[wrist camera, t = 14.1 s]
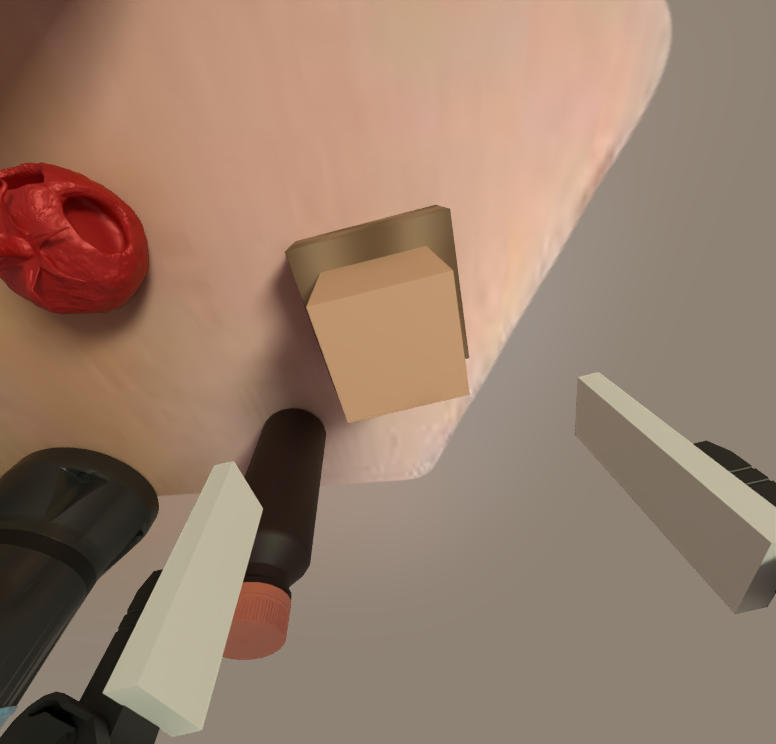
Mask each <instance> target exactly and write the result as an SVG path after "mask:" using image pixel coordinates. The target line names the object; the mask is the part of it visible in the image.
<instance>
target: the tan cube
mask: <svg viewBox="0 0 776 744" xmlns="http://www.w3.org/2000/svg"><path fill="white" fill-rule="evenodd" d="M306 308H307V311H308V313H309V316H310V319H311V322H312V325H313V327H314V330H315V333H316V336H317V338H318V341H319V344H320V347H321V349H322V352H323V355H324V358H325V361H326V363H327V366H328V369H329V372H330V374H331V377H332V380H333V383H334V385H335V388H336V391H337V394H338V397H339V399H340V402H341V405H342V408H343V410H344V413H345V416H346V419H347V422H348V423H351V422H355V421H359V420H364V419H368V418H372V417H376V416H381V415H385V414H389V413H393V412H398V411H402V410H406V409H411V408H415V407H419V406H423V405H428V404H432V403H436V402H440V401H445V400H449V399H453V398H457V397H462V396H466V395H470V394H469V387H468V379H467V371H466V364H465V356H464V349H463V341H462V334H461V326H460V319H459V311H458V303H457V296H456V288H455V281H454V273H453V270H452V269H451V268H450V267H449V266H448V265H447V264H446V263H444V262H443V261H442V260H441V259H440V258H439V257H438V256H437V255H436V254H435V253H433V252H432V251H431V250H430V249H429V248H428V247H427V246H424V247H420V248H416V249H412V250H408V251H404V252H401V253H397V254H393V255H389V256H385V257H381V258H377V259H373V260H369V261H365V262H361V263H357V264H353V265H349V266H345V267H341V268H337V269H334V270H330V271H326V272H322V273H320V275H319V277H318V280H317V282H316V284H315V287H314V289H313V292H312V294H311V297H310V299H309V302H308V304H307V306H306Z"/></svg>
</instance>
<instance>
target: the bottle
mask: <svg viewBox="0 0 776 744" xmlns="http://www.w3.org/2000/svg"><path fill="white" fill-rule="evenodd" d="M325 438H326V432H325V429H324V426H323V424H322V422H321V421H320V420H319V419H318V418H317V417H316V416H314V415H313V414H312V413H310V412H307V411H304V410H301V409H286V410H281V411H279V412H277V413H275V414H273V415H272V416H271V417H270V418H269V419H268V420H267V421H266V423H265V426H264V428H263V430H262V433H261V436H260V438H259V441H258V444H257V446H256V449H255V451H254V454H253V457H252V459H251V462H250V465H249V467H248V470H247V472H246V475H245V480H246V482H247V483H248V485H249V486H250V488H251V490H252V491H253V493H254V495H255V496H256V498H257V499H258V501H259V503H260V504H261V506H262V508H263V511H262V514H261V518H260V522H259V525H258V529H257V533H256V536H255V540H254V543H253V547H252V551H251V554H250V558H249V562H248V565H247V569H246V572H245V576H244V580H243V583H242V587H241V591H240V594H239V598H238V601H237V605H236V609H235V612H234V616H233V620H232V623H231V627H230V630H229V634H228V638H227V641H226V645H225V649H224V652H223V656H222V657H225V658H230V659H239V660H242V659H243V660H247V659H248V660H250V659H256V658H263V657H265V656H268V655H271V654H273V653H275V652H276V651H277V650H279V649H280V648H281V647H282V646H283V645H284V643H285V640H286V634H287V628H288V621H289V615H290V608H291V592H290V590H289V587H290V586H291V585H292V584H294V583H295V582H296V581H297V580H298V579H300V578H301V577H302V576H303V575H304V573H305V572H306V570H307V569H308V567H309V565H310V560H311V552H312V544H313V536H314V528H315V520H316V512H317V511H316V510H317V502H318V495H319V487H320V479H321V471H322V463H323V455H324V447H325Z"/></svg>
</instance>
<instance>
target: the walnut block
mask: <svg viewBox="0 0 776 744" xmlns="http://www.w3.org/2000/svg"><path fill="white" fill-rule="evenodd" d="M424 246H427V247H428V248H429V249H430V250H431V251H432V252H433V253H435V254H436V255H437V256H438V257H439V258H440V259H441V260H442V261H443V262H444V263H446V264H447V265H448V266H449V267H450V268H451V269H452V270H453V273H454V281H455V288H456V296H457V303H458V311H459V319H460V326H461V334H462V341H463V349H464V356H465V359H467V358H469V354H468V346H467V338H466V330H465V322H464V315H463V307H462V299H461V291H460V284H459V276H458V268H457V260H456V252H455V245H454V237H453V229H452V221H451V213H450V209H449V208H445V207H441V206H438V205H433V206H429V207H426V208H422V209H418V210H414V211H410V212H407V213H403V214H399V215H395V216H391V217H387V218H384V219H380V220H376V221H372V222H368V223H364V224H361V225H357V226H353V227H349V228H345V229H341V230H338V231H334V232H330V233H326V234H322V235H319V236H315V237H311V238H307V239H303V240H299V241H296V242H295V243H294V244H292V245H291V246H290V247H289V248H288V249H287V250H286V251H285V254H286V257H287V260H288V262H289V265H290V268H291V271H292V273H293V276H294V279H295V281H296V284H297V287H298V290H299V292H300V295H301V298H302V301H303V303H304V306H305V309H306V312H307V314H308V317H309V320H310V322H311V319H310V316H309V313H308V311H307V308H306V306H307V304H308V302H309V299H310V297H311V294H312V292H313V289H314V287H315V284H316V282H317V280H318V277H319V275H320V273H322V272H326V271H330V270H334V269H337V268H341V267H345V266H349V265H353V264H357V263H361V262H365V261H369V260H373V259H377V258H381V257H385V256H389V255H393V254H397V253H401V252H404V251H408V250H412V249H416V248H420V247H424ZM311 325H312V322H311ZM312 328H313V331H314V333H315V330H314V327H313V325H312ZM315 336H316V333H315ZM316 339H317V342H318V344H319V341H318V338H317V336H316ZM319 347H320V344H319ZM320 350H321V353H322V355H323V352H322V349H321V347H320ZM323 358H324V355H323ZM324 361H325V358H324ZM325 363H326V361H325ZM326 366H327V363H326ZM327 369H328V366H327ZM328 372H329V369H328ZM329 374H330V372H329ZM330 377H331V374H330ZM331 380H332V377H331ZM332 383H333V380H332ZM333 385H334V383H333ZM334 388H335V385H334ZM335 390H336V388H335Z"/></svg>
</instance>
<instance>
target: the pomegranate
mask: <svg viewBox="0 0 776 744" xmlns="http://www.w3.org/2000/svg"><path fill="white" fill-rule="evenodd" d="M148 267H149V254H148V245H147V239H146V236H145V233H144V229H143V226H142V224H141V221H140V220H139V218H138V217H137V215H136V214H135V212H134V211H133V210H132V209H131V208H130V207H129V206H128V205H127V204H126V203H125V202H124V201H123V200H121V199H120V198H119V197H118V196H117V195H115V194H114V193H113V192H112V191H110V190H109V189H107V188H105V187H104V186H102V185H101V184H99V183H96V182H95V181H92V180H90V179H89V178H87V177H86V176H84V175H82V174H80V173H76V172H73V171H71V170H69V169H65V168H62V167H59V166H55V165H51V164H46V163H38V164H36V163H24V164H20V166H17V167H11V168H7V169H3V170H0V278H1V279H2V280H3V281H4V282H5V283H6V284H7V286H8V287H9V288H10V289H11V290H12V291H14V292H15V293H17V294H18V295H20V296H22V297H23V298H25V299H27V300H29V301H31V302H33V303H34V304H35V305H37V306H38V307H40V308H43V309H45V310H47V311H50V312H54V313H60V314H76V313H100V312H107V311H110V310H113V309H116V308H119V307H121V306H123V305H124V304H125V303H126V301H127V300H128V299H129V298H131V297H132V296H133V295H134V294H135V292H136V290H137V289H138V288H139V286H140V285H141V283H142V281H143V279H144V277H145V276H146V274H147V270H148Z"/></svg>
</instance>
